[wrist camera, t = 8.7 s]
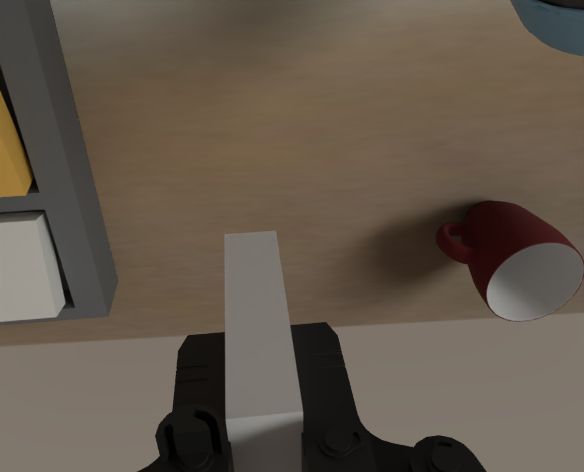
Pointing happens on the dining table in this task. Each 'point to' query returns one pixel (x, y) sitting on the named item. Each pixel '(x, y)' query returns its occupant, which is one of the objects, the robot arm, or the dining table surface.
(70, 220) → the power strip
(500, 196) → the dining table surface
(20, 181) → the rocker amber
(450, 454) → the robot arm
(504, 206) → the mug
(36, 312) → the rocker grey
